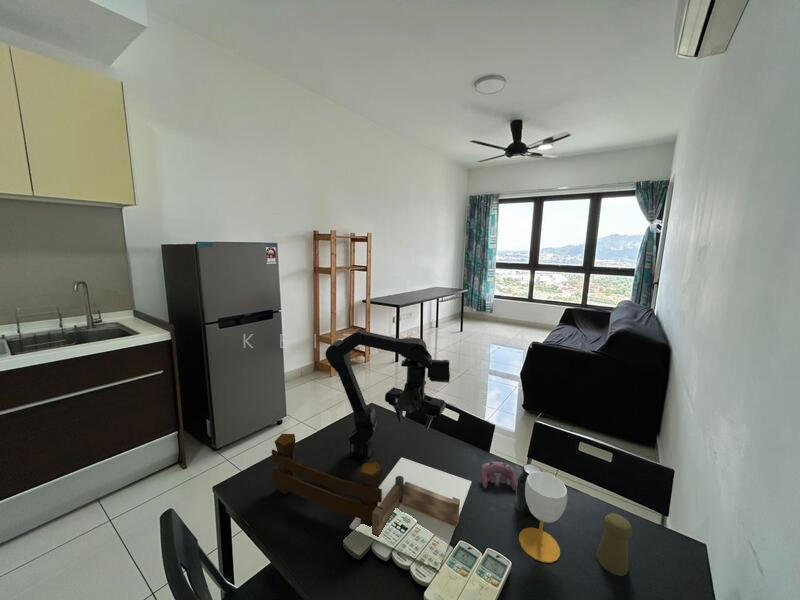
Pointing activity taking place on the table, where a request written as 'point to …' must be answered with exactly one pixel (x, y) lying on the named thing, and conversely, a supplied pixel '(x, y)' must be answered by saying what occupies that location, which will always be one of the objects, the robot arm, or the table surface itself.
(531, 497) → the cup
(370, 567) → the table surface
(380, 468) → the decorative fence
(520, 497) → the supplement bottle
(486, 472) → the video game controller
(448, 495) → the card
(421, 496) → the fence panel
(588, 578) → the table surface
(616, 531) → the cork
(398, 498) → the fence fixed section
